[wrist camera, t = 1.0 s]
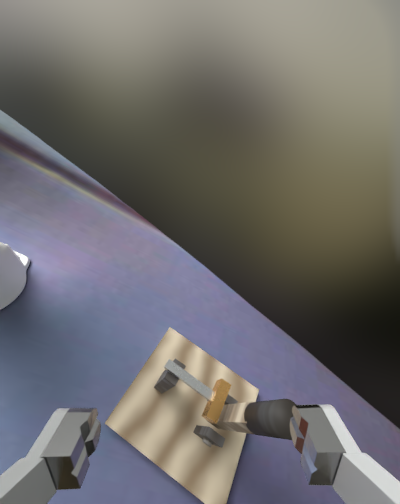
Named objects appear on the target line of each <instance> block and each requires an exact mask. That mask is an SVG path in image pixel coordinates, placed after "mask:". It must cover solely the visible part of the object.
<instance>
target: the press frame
mask: <svg viewBox="0 0 400 504" xmlns="http://www.w3.org/2000/svg"><path fill="white" fill-rule="evenodd" d="M169 359H170V360H171V361H173V362H174V363H176V364H177V365H178V366H180V367H181V368H182V369H184V370H185V371H187V372H188V373H189V374H191V375H192V376H193V377H195V378H196V379H198V380H199V381H200V382H202V383H203V384H204V385H206V386H207V387H209V388H210V389H211V390H213V388H214V385H215V383H216V381H217V380H219V379H224V380H225V381H226V382H228V383H229V384H231V387H230V390H229V393H228V395H227V398H226V401H225V403H224V405H226V404H235V403H244V402H256V398H257V395H258V392H259V389H257V388H256V387H254V386H253V385H251V384H250V383H249V382H247V381H246V380H244V379H243V378H242V377H240V376H239V375H237V374H236V373H234V372H233V371H232V370H230V369H229V368H227V367H226V366H224V365H223V364H222V363H220V362H219V361H217V360H216V359H215V358H213V357H212V356H210V355H209V354H207V353H206V352H205V351H203V350H202V349H200V348H199V347H198V346H196V345H195V344H193V343H192V342H190V341H189V340H188V339H186V338H185V337H183V336H182V335H181V334H179V333H178V332H176V331H175V330H173V329H172V328H171V327H170V328H169V329H168V331H167V332H166V334H165V335H164V337H163V338H162V340H161V341H160V343H159V344H158V346H157V347H156V349H155V350H154V351H153V353H152V354H151V356H150V357H149V359H148V360H147V362H146V363H145V365H144V366H143V368H142V369H141V371H140V372H139V374H138V375H137V376H136V378H135V379H134V381H133V382H132V384H131V385H130V387H129V388H128V390H127V391H126V393H125V394H124V396H123V397H122V398H121V400H120V401H119V403H118V404H117V406H116V407H115V409H114V410H113V412H112V413H111V415H110V416H109V418H108V419H107V421H106V422H105V424H106V425H108V426H109V427H110V428H111V429H113V430H114V431H115V432H116V433H118V434H119V435H120V436H121V437H123V438H124V439H125V440H126V441H127V442H129V443H130V444H131V445H132V446H134V447H135V448H136V449H137V450H139V451H140V452H141V453H142V454H144V455H145V456H146V457H147V458H149V459H150V460H151V461H152V462H154V463H155V464H156V465H157V466H159V467H160V468H161V469H162V470H164V471H165V472H166V473H167V474H168V475H170V476H171V477H172V478H173V479H175V480H176V481H177V482H178V483H180V484H181V485H182V486H183V487H185V488H186V489H187V490H188V491H190V492H191V493H192V494H193V495H195V496H196V497H197V498H198V499H200V500H201V501H202V502H203V503H205V504H226V503H227V499H228V496H229V492H230V489H231V485H232V482H233V478H234V475H235V471H236V468H237V465H238V461H239V458H240V454H241V451H242V447H243V444H244V440H245V437H246V433H242V432H235V431H228V430H221V429H217V428H216V427H214V426H213V425H212V424H210V423H209V422H208V421H206V419H205V418H204V417H202V414H203V411H204V409H205V407H206V404H207V402H208V400H207V399H205V398H204V397H203V396H201V395H200V394H198V393H197V392H196V391H194V390H193V389H192V388H190V387H189V386H188V385H186V384H185V383H183V382H182V381H181V380H179V379H178V378H177V377H175V376H174V375H173V374H171V373H170V372H169V371H167V370H166V369H164V366H165V365H166V363H167V361H168V360H169Z"/></svg>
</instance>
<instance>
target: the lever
mask: <svg viewBox="0 0 400 504" xmlns="http://www.w3.org/2000/svg"><path fill="white" fill-rule="evenodd" d="M294 405H296V404H295V403H294V402H293V401H291V400H289V399H279V400H270V401H260V402H244V403H235V404H226V405H224V406H223V409H222V411H221V414H220V417H219V419H218V422H217V424H215V423H210V422H209V421H208V420H206V421H208V422H209V423H210V424H212V425H213V426H214V427H216V428H217V429H221V430H228V431H235V432H242V433H249V434H255V435H261V436H268V437H275V438H282V439H289V440H292V437H291V433H290V419H291V418H292V417H293V413H292V407H293V406H294Z"/></svg>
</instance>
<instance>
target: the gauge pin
mask: <svg viewBox="0 0 400 504" xmlns="http://www.w3.org/2000/svg"><path fill="white" fill-rule="evenodd" d="M164 369H166V370H167V371H169V372H170V373H171V374H173V375H174V376H175V377H177V378H178V379H179V380H181V381H182V382H183V383H185V384H186V385H188V386H189V387H190V388H192V389H193V390H194V391H196V392H197V393H198V394H200V395H201V396H203V397H204V398H205V399H207V400H208V402H207V404H206V407H205V409H204V411H203V414H202V417H204V418H205V419H206V420H208V421H209V422H210V423H215V424H217V422H218V419H219V417H220V414H221V411H222V409H223V406H224V403H225V401H226V398H227V395H228V393H229V390H230V387H231V384H229V383H228V382H226V381H225V380H224V379H219V380H217V381H216V383H215V385H214V388H213V390H211V389H210V388H209V387H207V386H206V385H204V384H203V383H202V382H200V381H199V380H198V379H196V378H195V377H193V376H192V375H191V374H189V373H188V372H187V371H185V370H184V369H182V368H181V367H180V366H178V365H177V364H176V363H174V362H173V361H171V360H170V359H169V360H168V361H167V363H166V365H165V366H164Z"/></svg>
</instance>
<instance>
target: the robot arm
mask: <svg viewBox="0 0 400 504" xmlns="http://www.w3.org/2000/svg"><path fill="white" fill-rule="evenodd" d="M19 258H20V259H19ZM29 264H30V259H29V258H28V257H27V256H24V255H22V254H20V253H18V252H15V251H13V250H12V249H11V247H10V246H9V245H8V244H3V243H1V242H0V310H1V309H3V308H4V307H6V306H8V305H9V304H10V303H12V302H13V301H14V300H15V299H16V298H17V297H18V296H19V295H20V293H21V292H22V291H23V289H24V287H25V284H26V270H27V268H28V266H29ZM292 413H293V417H292V418H291V419H290V433H291V437H292V440H293V443H294V446H295V448H296V449H297V450H298V451H299V452H300V453H301V454H302V455H301V460H300V463H301V465H302V468H303V471H304V473H305V476H306V479H307V481H308V484H309V485H333V486H332V487H333V488H334V490H335V491H336V492H337V493H338V495H339V496H340V497H341V498H342V499H343V501H344V502H345V503H346V504H400V482H399V481H398V480H397V479H396V478H394V477H393V476H392V475H391V474H390V473H389V472H387V471H386V470H385V469H384V468H383V467H382V466H380V465H379V464H378V463H377V462H376V461H375V460H373V459H372V458H371V457H370V456H369V455H368V454H366V453H362V452H361V451H360V449H359V447H358V446H357V444H356V443H355V441H354V439H353V438H352V436H351V434H350V433H349V431H348V430H347V428H346V426H345V425H344V423H343V421H342V420H341V418H340V416H339V415H338V413H337V412H336V410H335V408H334V407H333V406H332V405H329V404H328V405H317V404H315V405H294V406H293V407H292ZM97 415H98V412H97V408H58V409H57V410H56V411H55V412H54V413H53V414H52V416H51V417H50V419H49V421H48V422H47V424H46V425H45V427H44V429H43V430H42V432H41V433H40V435H39V436H38V438H37V440H36V441H35V443H34V444H33V446H32V448H31V449H30V451H29V452H28V454H27V455H26V457H25V458H20V459H19V460H18V461H17V462H16V463H15V464H13V465H12V466H11V467H10V468H9V469H8V470H6V471H5V472H4V473H3V474H2V475H0V504H47V503H48V501H49V500H50V499H51V498H52V497H53V495H54V494H55V493H56V490H62V489H80V488H81V486H82V483H83V481H84V478H85V475H86V473H87V470H88V468H89V465H90V464H89V458H88V457H89V456H90V455H91V454H92V453H93V452H94V451H95V450H96V447H97V444H98V441H99V437H100V432H101V425H100V421H99V420H97V419H96V418H97Z"/></svg>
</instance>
